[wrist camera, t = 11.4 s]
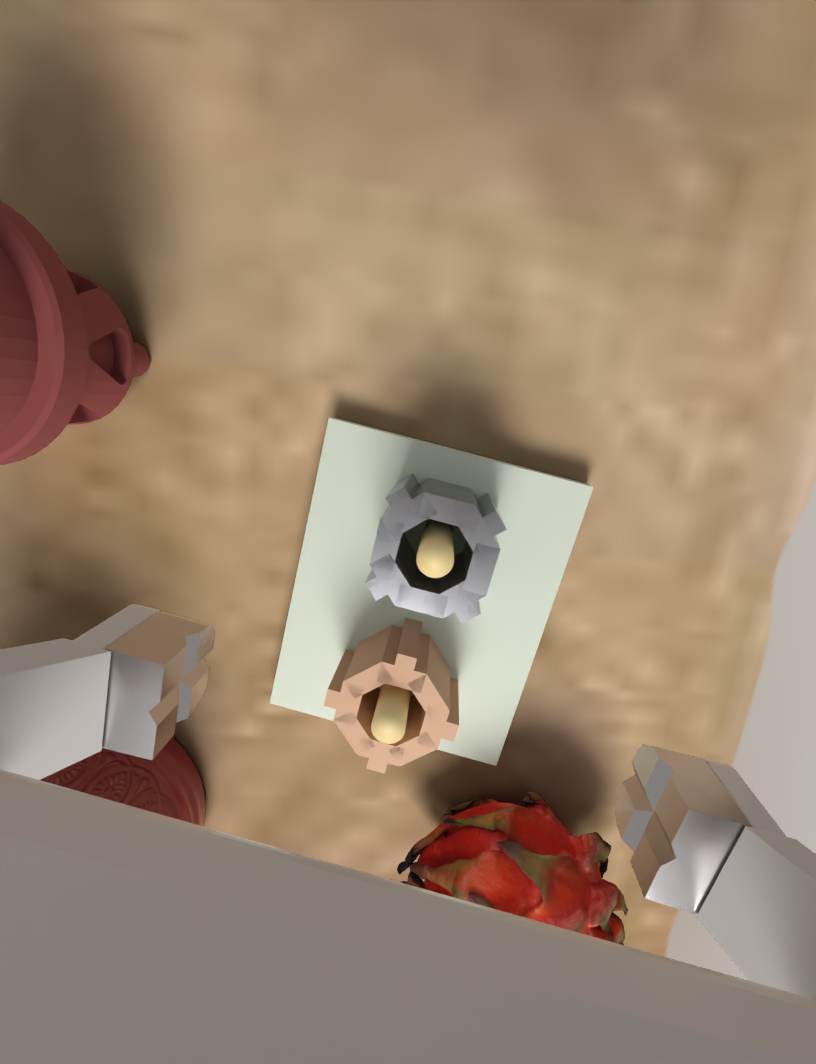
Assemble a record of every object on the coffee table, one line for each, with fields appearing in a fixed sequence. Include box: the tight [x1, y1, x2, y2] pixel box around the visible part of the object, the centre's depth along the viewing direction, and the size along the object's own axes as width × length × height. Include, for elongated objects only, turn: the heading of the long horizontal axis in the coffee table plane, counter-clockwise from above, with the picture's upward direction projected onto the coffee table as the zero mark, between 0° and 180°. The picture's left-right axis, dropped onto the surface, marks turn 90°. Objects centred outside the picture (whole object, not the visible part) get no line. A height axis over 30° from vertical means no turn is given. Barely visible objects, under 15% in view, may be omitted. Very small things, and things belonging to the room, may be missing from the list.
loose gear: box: [365, 473, 507, 624], centre depth 23 cm, size 5×5×4 cm
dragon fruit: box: [397, 792, 629, 945], centre depth 27 cm, size 8×8×12 cm
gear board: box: [270, 417, 594, 774], centre depth 24 cm, size 16×13×6 cm
